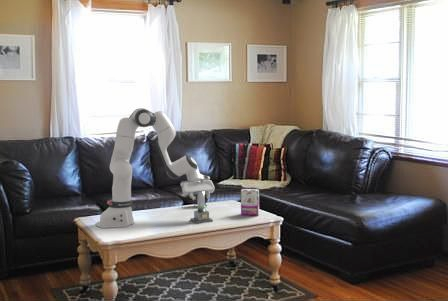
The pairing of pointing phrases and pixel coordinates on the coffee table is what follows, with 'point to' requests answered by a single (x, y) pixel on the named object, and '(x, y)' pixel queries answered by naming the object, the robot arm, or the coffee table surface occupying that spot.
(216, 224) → the coffee table surface
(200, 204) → the column
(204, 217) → the stand
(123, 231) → the coffee table surface
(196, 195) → the alarm clock
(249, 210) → the candy bar box
